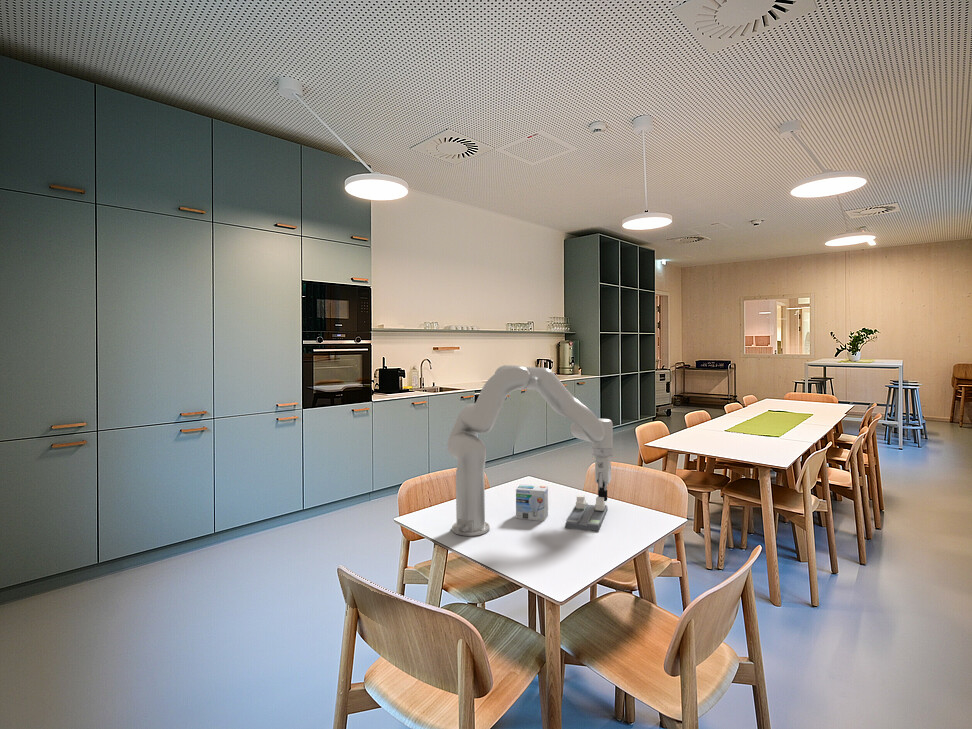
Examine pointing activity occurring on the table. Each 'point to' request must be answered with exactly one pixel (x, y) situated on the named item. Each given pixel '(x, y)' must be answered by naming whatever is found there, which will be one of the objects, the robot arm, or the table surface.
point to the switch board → (586, 518)
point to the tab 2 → (600, 504)
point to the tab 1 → (580, 502)
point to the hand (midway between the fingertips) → (602, 500)
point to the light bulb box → (532, 502)
